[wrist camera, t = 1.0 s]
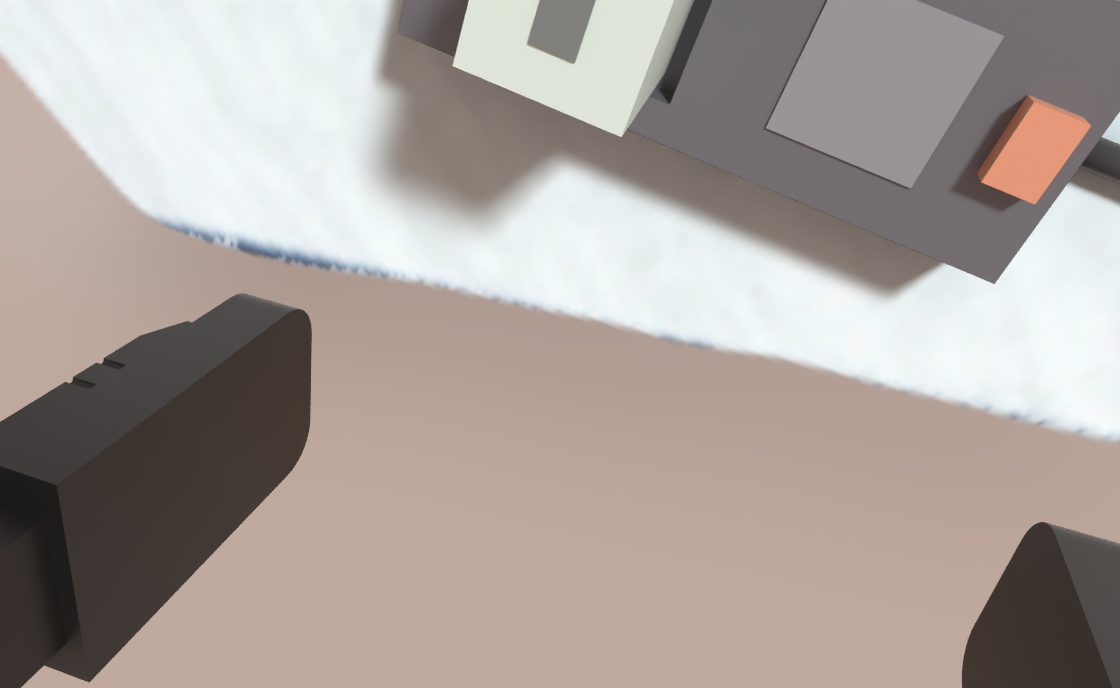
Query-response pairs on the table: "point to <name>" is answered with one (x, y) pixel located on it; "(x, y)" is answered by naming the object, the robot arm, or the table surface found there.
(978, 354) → the table surface
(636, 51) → the block
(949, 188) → the power strip
